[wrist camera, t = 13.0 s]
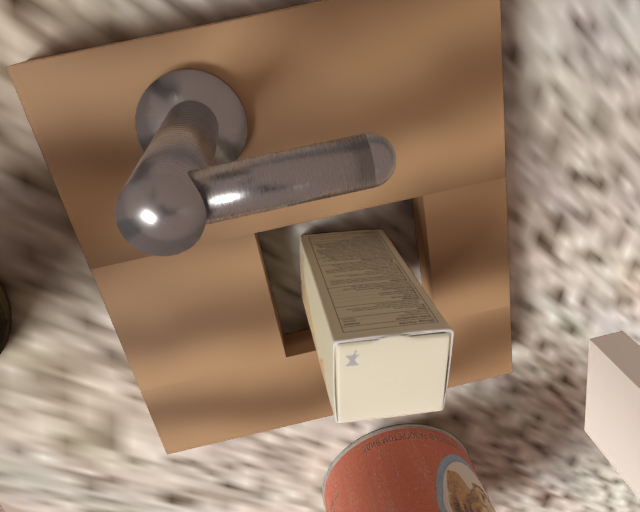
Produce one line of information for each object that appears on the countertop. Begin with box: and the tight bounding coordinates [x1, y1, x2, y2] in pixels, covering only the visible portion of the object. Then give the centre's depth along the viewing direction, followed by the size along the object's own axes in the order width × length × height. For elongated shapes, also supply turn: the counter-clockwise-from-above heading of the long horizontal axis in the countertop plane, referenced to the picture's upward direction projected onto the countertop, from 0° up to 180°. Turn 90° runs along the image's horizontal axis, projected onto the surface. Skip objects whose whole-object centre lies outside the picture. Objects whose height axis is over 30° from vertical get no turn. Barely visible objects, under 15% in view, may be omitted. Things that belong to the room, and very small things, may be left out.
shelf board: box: [7, 0, 512, 454], centre depth 30 cm, size 23×22×2 cm
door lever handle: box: [115, 68, 396, 256], centre depth 21 cm, size 5×9×12 cm, turn 100°
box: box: [300, 229, 454, 423], centre depth 28 cm, size 5×4×11 cm
